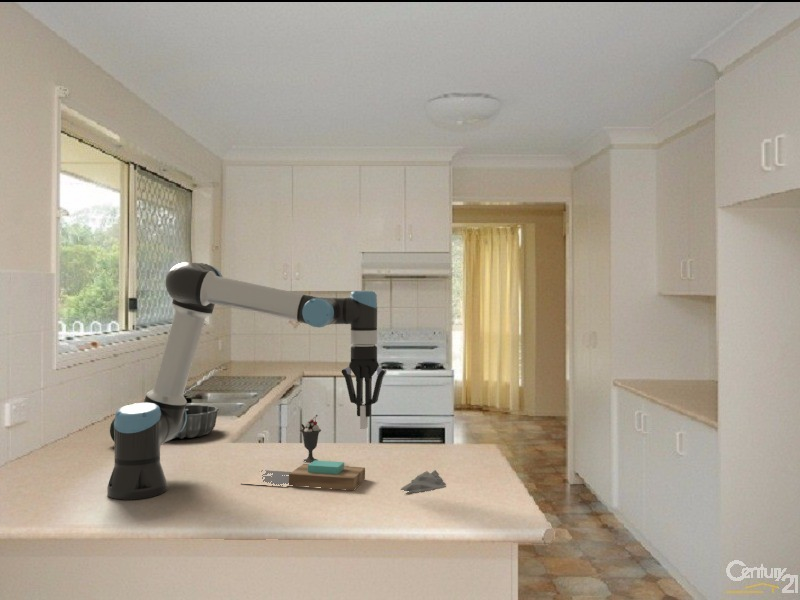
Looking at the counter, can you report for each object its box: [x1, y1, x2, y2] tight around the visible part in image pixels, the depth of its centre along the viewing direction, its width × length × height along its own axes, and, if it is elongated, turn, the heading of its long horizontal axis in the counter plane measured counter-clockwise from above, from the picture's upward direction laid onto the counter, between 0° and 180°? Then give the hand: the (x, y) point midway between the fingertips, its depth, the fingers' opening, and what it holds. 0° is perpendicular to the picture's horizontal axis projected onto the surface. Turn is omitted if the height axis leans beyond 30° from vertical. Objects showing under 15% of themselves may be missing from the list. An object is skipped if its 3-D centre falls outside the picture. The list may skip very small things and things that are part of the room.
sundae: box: [299, 414, 322, 463], centre depth 221 cm, size 7×7×15 cm
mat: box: [260, 469, 292, 486], centre depth 199 cm, size 15×14×1 cm
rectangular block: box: [308, 459, 345, 474], centre depth 196 cm, size 6×9×2 cm, turn 78°
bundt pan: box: [172, 404, 219, 440], centre depth 259 cm, size 26×26×10 cm
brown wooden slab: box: [289, 463, 366, 491], centre depth 196 cm, size 12×19×4 cm, turn 78°
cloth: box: [400, 469, 447, 495], centre depth 196 cm, size 26×14×2 cm, turn 146°
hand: (364, 427), depth 193 cm, fingers closed
